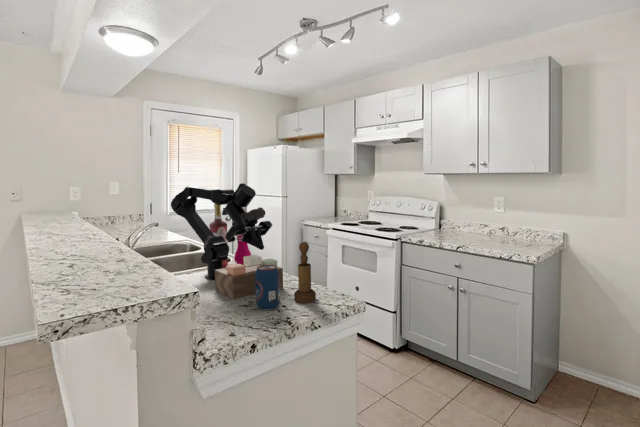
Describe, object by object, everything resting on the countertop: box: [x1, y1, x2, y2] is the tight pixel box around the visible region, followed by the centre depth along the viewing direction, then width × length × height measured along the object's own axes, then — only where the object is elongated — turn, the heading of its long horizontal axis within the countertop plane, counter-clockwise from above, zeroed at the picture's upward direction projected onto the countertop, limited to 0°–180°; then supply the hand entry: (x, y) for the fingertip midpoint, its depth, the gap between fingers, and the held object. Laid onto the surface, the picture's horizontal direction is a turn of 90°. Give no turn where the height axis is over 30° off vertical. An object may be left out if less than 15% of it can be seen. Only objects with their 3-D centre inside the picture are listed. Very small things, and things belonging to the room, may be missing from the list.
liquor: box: [208, 203, 229, 268], centre depth 158 cm, size 7×7×28 cm
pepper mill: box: [233, 235, 252, 265], centre depth 157 cm, size 7×7×20 cm
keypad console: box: [214, 264, 284, 300], centre depth 127 cm, size 14×18×7 cm
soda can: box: [255, 265, 281, 311], centre depth 108 cm, size 7×7×12 cm
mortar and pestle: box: [293, 241, 317, 304], centre depth 114 cm, size 7×6×18 cm
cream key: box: [244, 254, 263, 266], centre depth 124 cm, size 4×4×2 cm
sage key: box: [260, 258, 278, 267], centre depth 128 cm, size 4×4×2 cm
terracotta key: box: [226, 263, 246, 276], centre depth 120 cm, size 4×4×2 cm
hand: (262, 248), depth 129 cm, fingers closed
